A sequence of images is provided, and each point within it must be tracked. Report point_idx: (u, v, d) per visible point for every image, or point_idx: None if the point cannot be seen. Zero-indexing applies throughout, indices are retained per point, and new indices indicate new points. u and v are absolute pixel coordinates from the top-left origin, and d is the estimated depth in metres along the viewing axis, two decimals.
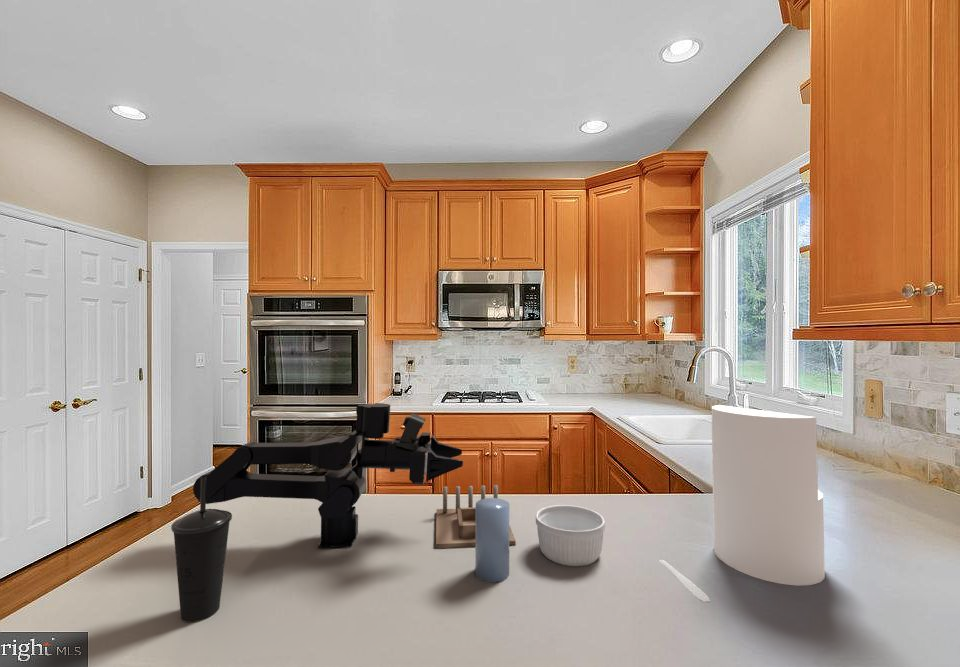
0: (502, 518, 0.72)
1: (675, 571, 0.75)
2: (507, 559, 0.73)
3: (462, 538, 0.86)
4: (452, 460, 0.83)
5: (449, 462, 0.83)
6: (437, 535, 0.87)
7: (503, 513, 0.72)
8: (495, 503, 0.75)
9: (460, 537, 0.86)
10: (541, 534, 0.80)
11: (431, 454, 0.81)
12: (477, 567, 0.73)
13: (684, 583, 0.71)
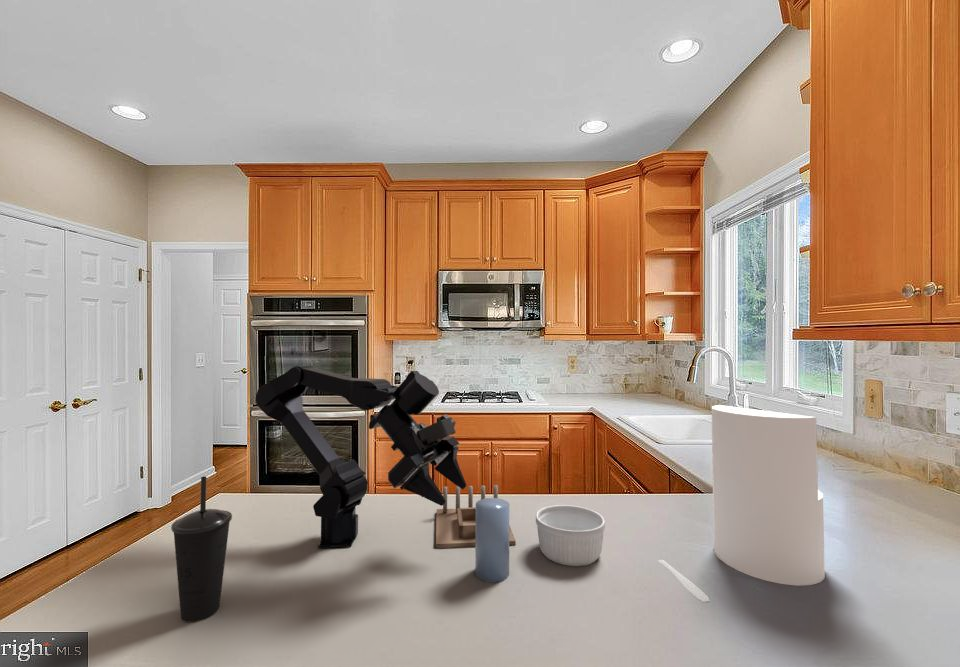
0: (502, 518, 0.72)
1: (674, 571, 0.75)
2: (507, 559, 0.73)
3: (462, 538, 0.86)
4: (436, 493, 0.73)
5: (432, 492, 0.73)
6: (437, 535, 0.87)
7: (503, 513, 0.72)
8: (495, 503, 0.75)
9: (460, 537, 0.86)
10: (541, 534, 0.80)
11: (422, 471, 0.72)
12: (477, 567, 0.73)
13: (683, 583, 0.71)
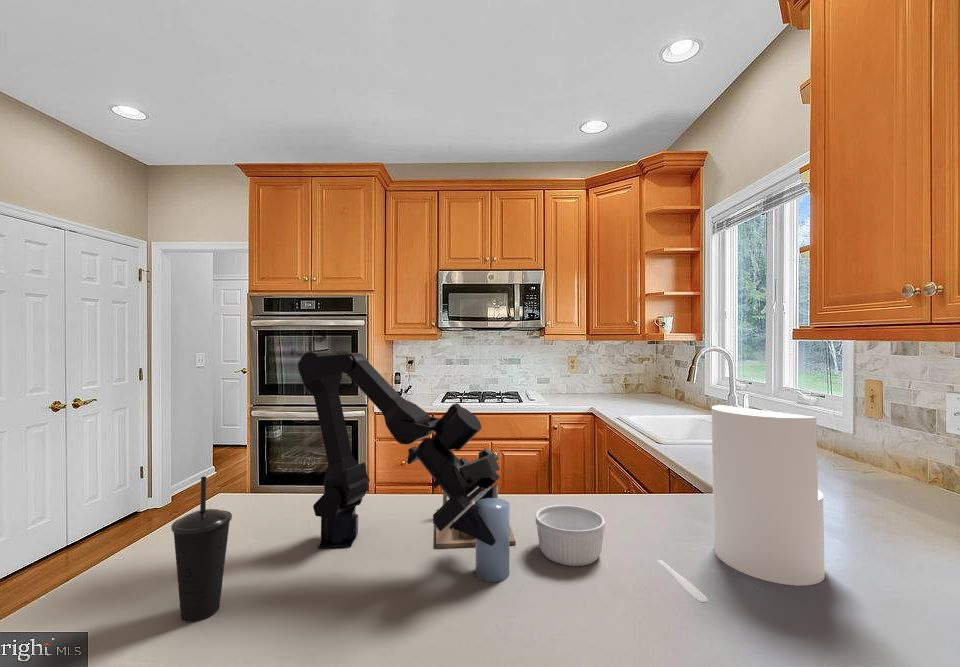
0: (502, 518, 0.72)
1: (673, 571, 0.75)
2: (507, 559, 0.73)
3: (462, 538, 0.86)
4: (486, 532, 0.71)
5: (482, 531, 0.71)
6: (437, 535, 0.87)
7: (503, 513, 0.72)
8: (495, 503, 0.75)
9: (460, 537, 0.86)
10: (541, 534, 0.80)
11: (472, 510, 0.70)
12: (477, 567, 0.73)
13: (682, 583, 0.71)
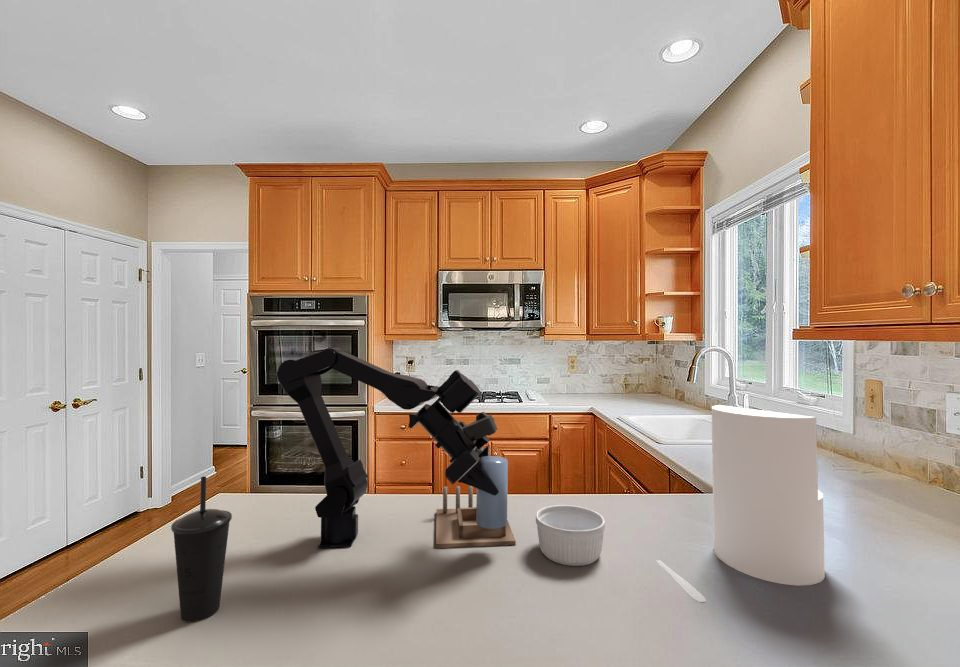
0: (504, 470, 0.80)
1: (671, 571, 0.75)
2: (506, 508, 0.81)
3: (462, 538, 0.86)
4: (491, 484, 0.78)
5: (487, 483, 0.78)
6: (437, 535, 0.87)
7: (504, 466, 0.80)
8: (494, 459, 0.83)
9: (460, 537, 0.86)
10: (541, 534, 0.80)
11: (480, 464, 0.77)
12: (480, 517, 0.80)
13: (680, 583, 0.71)
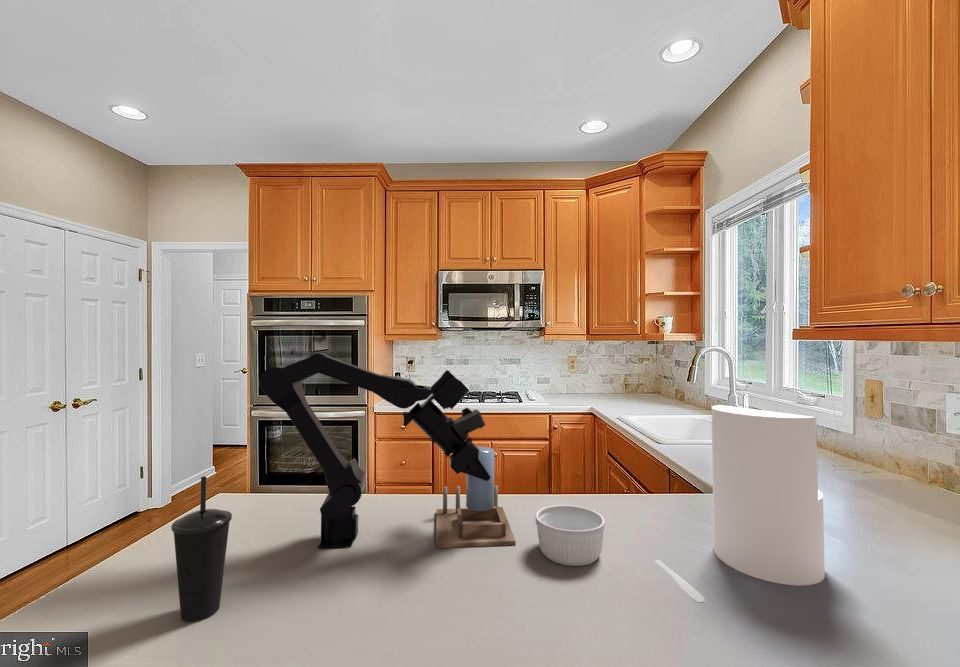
0: (493, 458, 0.90)
1: (670, 571, 0.75)
2: None
3: (462, 538, 0.86)
4: (485, 470, 0.88)
5: (482, 470, 0.87)
6: (437, 535, 0.87)
7: (493, 454, 0.91)
8: (482, 449, 0.92)
9: (460, 537, 0.86)
10: (541, 534, 0.80)
11: (477, 454, 0.86)
12: (472, 502, 0.89)
13: (679, 583, 0.71)
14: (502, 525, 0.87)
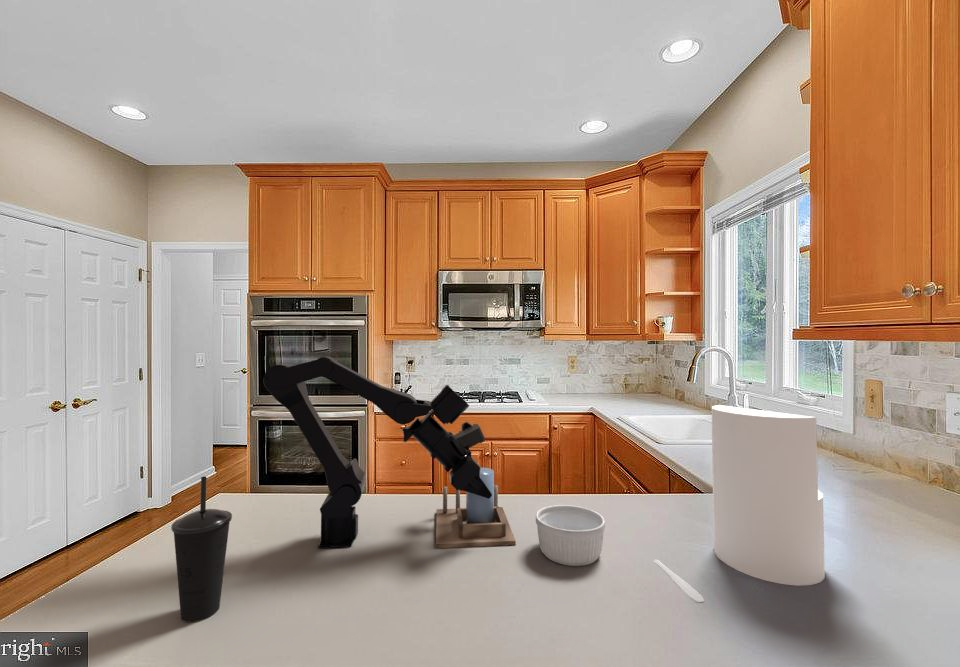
0: (492, 480, 0.90)
1: (669, 571, 0.75)
2: (493, 512, 0.91)
3: (462, 538, 0.86)
4: (486, 488, 0.86)
5: (483, 488, 0.86)
6: (437, 535, 0.87)
7: (492, 476, 0.90)
8: (481, 470, 0.92)
9: (460, 537, 0.86)
10: (541, 534, 0.80)
11: (478, 471, 0.85)
12: None
13: (678, 583, 0.71)
14: (502, 525, 0.87)
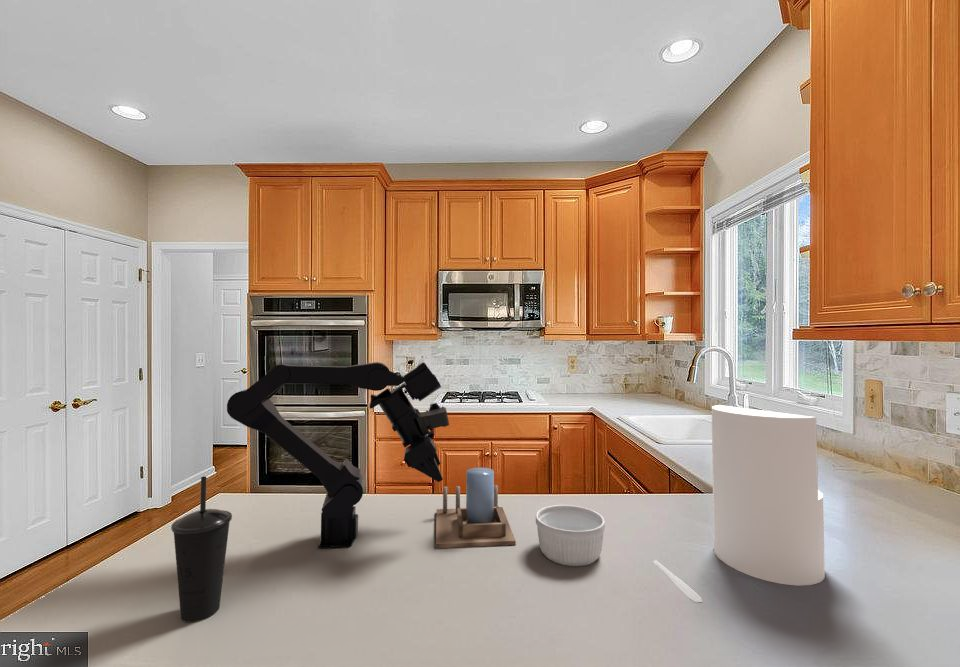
0: (492, 480, 0.90)
1: (668, 571, 0.75)
2: (493, 512, 0.91)
3: (462, 538, 0.86)
4: (438, 471, 0.87)
5: (435, 471, 0.86)
6: (437, 535, 0.87)
7: (493, 476, 0.90)
8: (482, 470, 0.92)
9: (460, 537, 0.86)
10: (541, 534, 0.80)
11: (434, 454, 0.85)
12: None
13: (676, 584, 0.71)
14: (502, 525, 0.87)
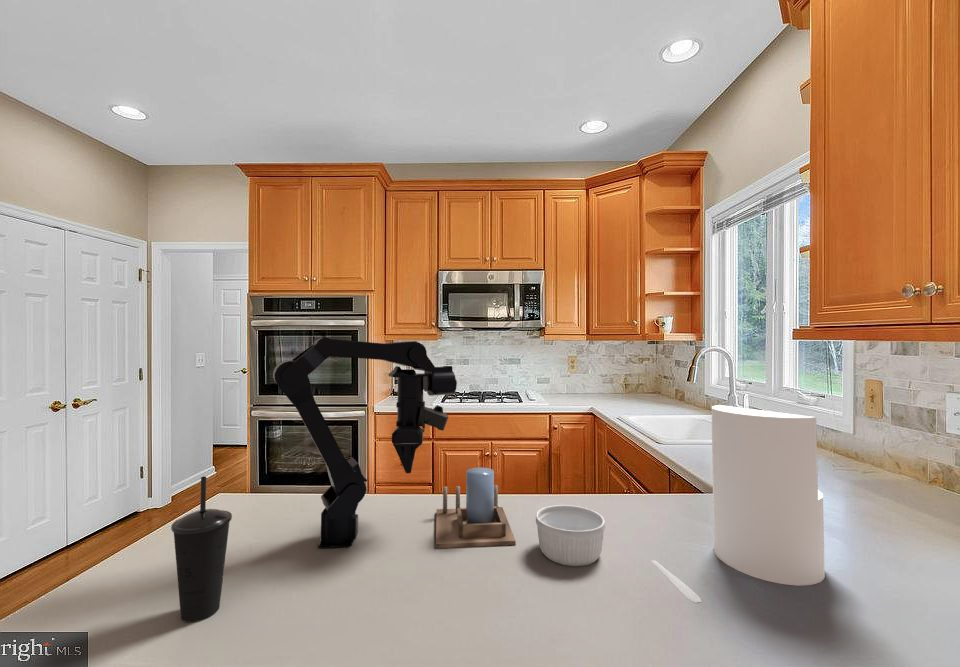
0: (492, 480, 0.90)
1: (666, 572, 0.75)
2: (493, 512, 0.91)
3: (462, 538, 0.86)
4: (411, 464, 0.89)
5: (409, 461, 0.89)
6: (437, 535, 0.87)
7: (493, 476, 0.90)
8: (482, 470, 0.92)
9: (460, 537, 0.86)
10: (541, 534, 0.80)
11: (418, 445, 0.88)
12: None
13: (675, 584, 0.71)
14: (502, 525, 0.87)
